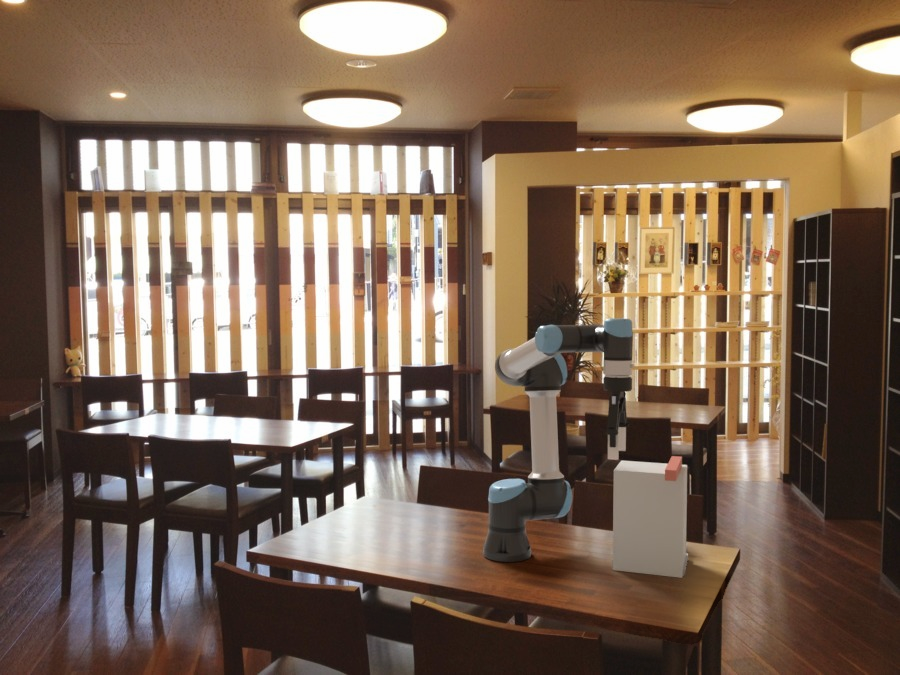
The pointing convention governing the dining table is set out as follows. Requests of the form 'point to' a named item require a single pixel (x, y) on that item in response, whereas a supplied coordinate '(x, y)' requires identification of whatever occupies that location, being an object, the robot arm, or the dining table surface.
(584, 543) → the dining table surface
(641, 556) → the white upright block
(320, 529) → the dining table surface
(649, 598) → the dining table surface
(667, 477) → the lever bar
